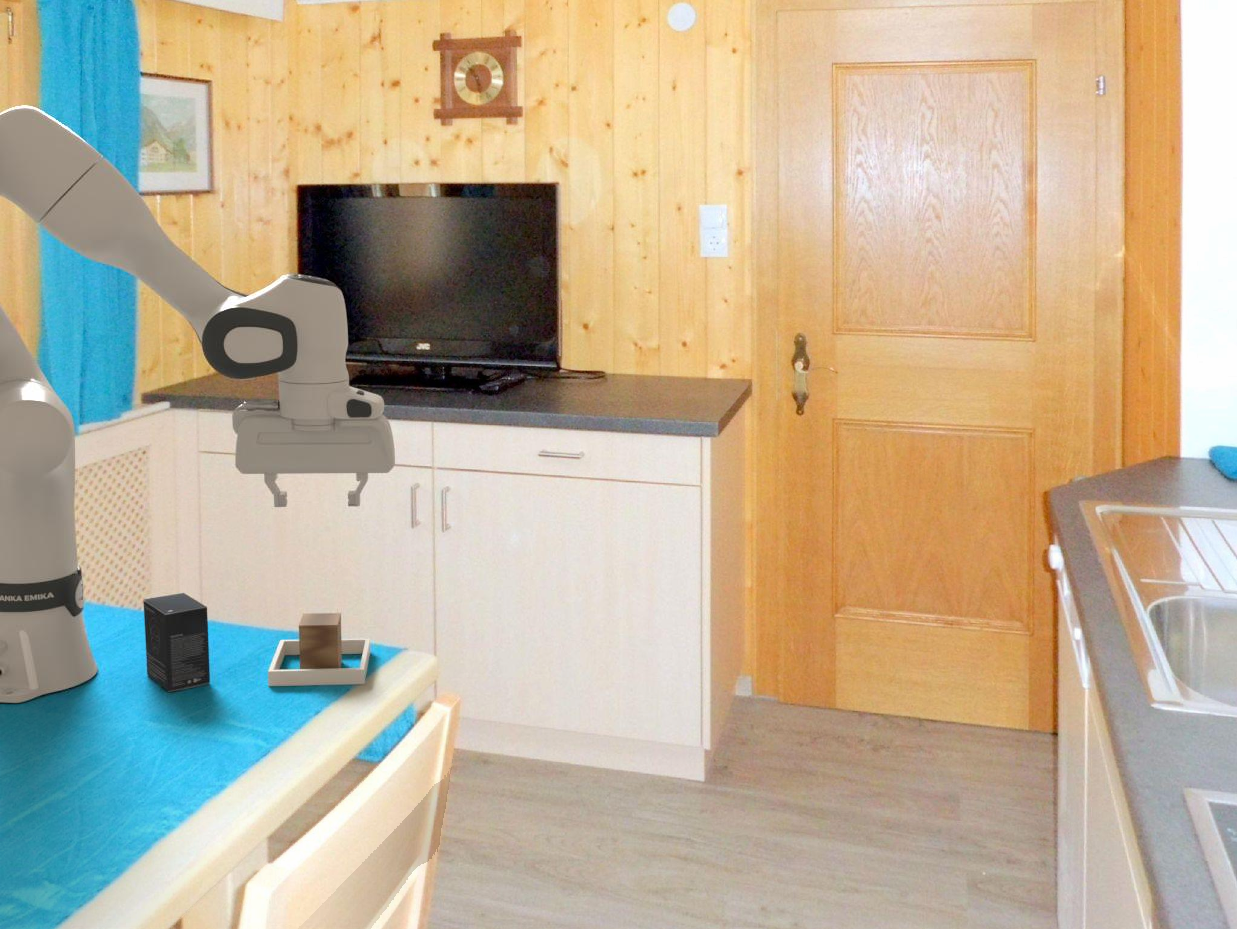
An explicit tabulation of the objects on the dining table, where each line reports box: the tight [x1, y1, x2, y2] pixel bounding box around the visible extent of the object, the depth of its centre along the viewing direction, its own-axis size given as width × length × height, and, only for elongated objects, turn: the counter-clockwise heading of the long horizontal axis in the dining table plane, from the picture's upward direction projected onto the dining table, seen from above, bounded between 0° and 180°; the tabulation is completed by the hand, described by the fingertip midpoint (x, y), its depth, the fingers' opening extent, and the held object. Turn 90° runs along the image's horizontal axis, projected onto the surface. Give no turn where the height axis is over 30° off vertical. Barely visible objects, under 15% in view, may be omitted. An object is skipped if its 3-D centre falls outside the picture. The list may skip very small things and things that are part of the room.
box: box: [143, 592, 211, 693], centre depth 173 cm, size 8×6×11 cm
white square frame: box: [267, 637, 371, 687], centre depth 179 cm, size 12×12×2 cm
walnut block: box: [298, 612, 343, 669], centre depth 179 cm, size 5×5×7 cm
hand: (317, 505), depth 175 cm, fingers open, 8 cm apart
